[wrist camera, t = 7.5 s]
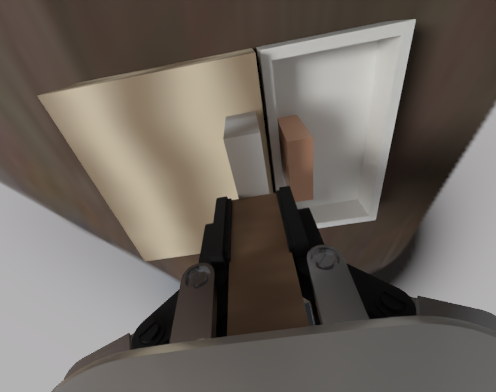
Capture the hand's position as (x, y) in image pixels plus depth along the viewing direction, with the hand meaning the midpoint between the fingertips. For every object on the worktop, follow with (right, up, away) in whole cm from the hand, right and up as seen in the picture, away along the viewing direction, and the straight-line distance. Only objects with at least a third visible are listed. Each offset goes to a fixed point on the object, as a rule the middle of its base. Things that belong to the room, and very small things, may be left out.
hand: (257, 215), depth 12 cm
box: (+5, +6, +6) cm, 10 cm away
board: (-5, +4, +7) cm, 10 cm away
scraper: (0, +2, +3) cm, 3 cm away
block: (+2, +4, +4) cm, 6 cm away
